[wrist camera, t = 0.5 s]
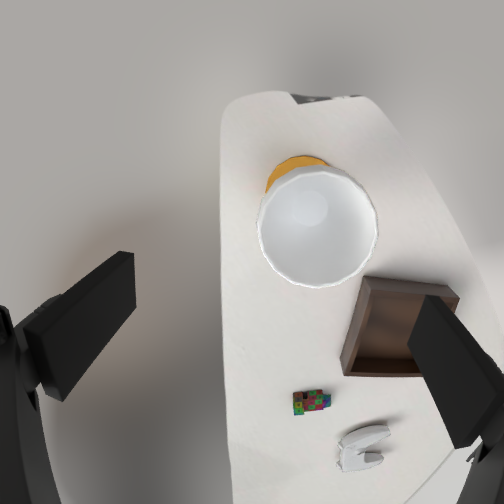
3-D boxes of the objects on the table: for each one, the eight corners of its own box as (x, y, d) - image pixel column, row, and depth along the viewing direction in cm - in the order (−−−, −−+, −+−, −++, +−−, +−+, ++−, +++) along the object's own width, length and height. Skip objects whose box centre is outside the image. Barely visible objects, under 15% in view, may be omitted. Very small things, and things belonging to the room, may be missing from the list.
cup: (264, 230, 38) (251, 290, 23) (266, 154, 35) (253, 161, 19) (339, 233, 37) (373, 294, 22) (344, 158, 34) (390, 171, 19)
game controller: (384, 467, 49) (339, 482, 48) (377, 452, 53) (334, 467, 52) (394, 429, 44) (343, 448, 43) (385, 414, 48) (335, 431, 48)
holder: (363, 275, 38) (370, 289, 35) (447, 285, 38) (460, 298, 34) (339, 358, 43) (343, 376, 39) (417, 361, 42) (425, 377, 39)
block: (295, 408, 47) (295, 423, 44) (293, 392, 46) (293, 407, 43) (330, 404, 47) (332, 419, 43) (330, 388, 45) (332, 403, 42)
